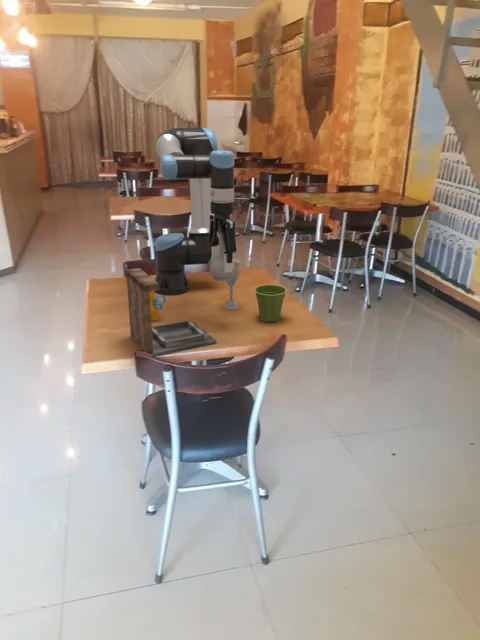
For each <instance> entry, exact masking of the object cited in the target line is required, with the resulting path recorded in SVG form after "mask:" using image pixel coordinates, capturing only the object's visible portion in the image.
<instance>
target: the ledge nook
mask: <svg viewBox="0 0 480 640" xmlns="http://www.w3.org/2000/svg"><path fill="white" fill-rule="evenodd" d="M125 270H126V271H125V275H126V286H127V287H126V288H127V291H126V292H127V300H128V301H127V302H128V303H127V304H128V313H129V314H128V315H129V318H128V319H129V328H130V329H129V331H130V337H131V338H132V339H133V341H134V342H135V343H136V344H137V346H138V347H139V348H140V349H141V350H142V352H143V351H144V352H146V353H148V354H150V355H153V356H154V357H157V356H164V355H168V354H172V353H177V352H182V351H187V350H191V349H197V348H200V346H202V347H205V346H206V347H207V346H210V345H211V346H212V345H215V344H217V340H216V339H215V338H214V337H213V336H212V335H210V334H209V333H208V332H207V331H205V330H204V329H203V328H202V327H201V326H200V325H199V324H197V323H196V322H195V321H191V320H188V319H184V320H180V321H179V320H178V321H174V322H169V323H162V324H156V325H152V321H151V309H150V291H157V290H159V283H158V282H156V281H155V278H154V279H153V277H151V276H150V275H149V274H148V273H147V272H145V271H144V270H143V269H141V267H139V268H129V269H125ZM196 347H197V348H196ZM144 352H143V353H144Z"/></svg>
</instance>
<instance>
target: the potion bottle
mask: <svg viewBox="0 0 480 640" xmlns="http://www.w3.org/2000/svg"><path fill="white" fill-rule="evenodd" d="M217 237H218V238H219V256H217V257H214V258H213V259H212V261H211V264H209V265H210V266H209V273H210V276H211V277H212V280H215V281H220V282H225V281H227V280H230V279H232V277H231V276H233V275H234V272H235V265H234V262H233V260H232V272H226V273H225V272H224V252H225V247H224V242H223V236H222V234H221V233H220V228H219V231H217Z"/></svg>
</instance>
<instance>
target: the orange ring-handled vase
mask: <svg viewBox="0 0 480 640" xmlns="http://www.w3.org/2000/svg"><path fill="white" fill-rule="evenodd" d="M152 278H153V277H152ZM153 279H154V280H155V278H153ZM160 297H161V298H163V301H162V299H160ZM166 301H167V299H166V296H165V294H157V295H156V292H155V291H150V309H151V322H156V321H158V320H159V318H160V317H159V313H160V312H159V311H160V310H162V309H163V307H164V305H165V303H166ZM158 302H159V303H158Z"/></svg>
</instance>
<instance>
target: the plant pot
mask: <svg viewBox="0 0 480 640" xmlns="http://www.w3.org/2000/svg"><path fill="white" fill-rule="evenodd" d="M253 292H254V293H255V296H256V300H257V307H258V313H259V319H260V320H262V321H264V322H277V321H279V320H280V318H281V312H282V308H283V302H284V298H285V296H286V293H287V292H288V289H287V288H286V287H285V286H283V285H278V284H261V285H257V286H255V287H254V288H253Z"/></svg>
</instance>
